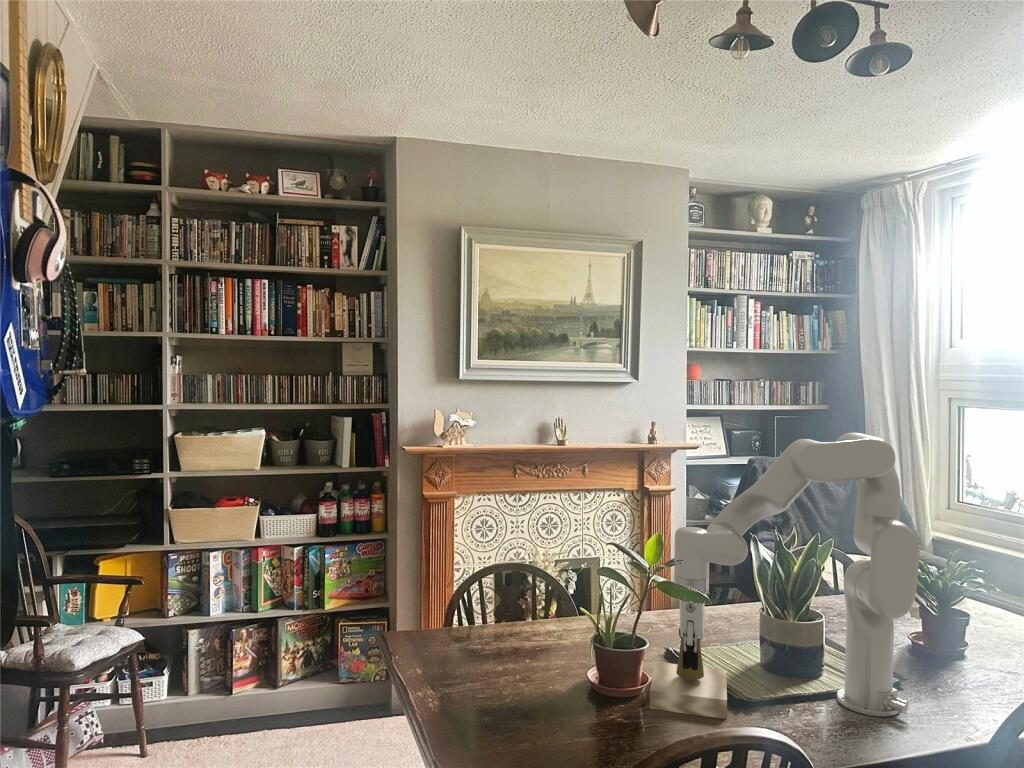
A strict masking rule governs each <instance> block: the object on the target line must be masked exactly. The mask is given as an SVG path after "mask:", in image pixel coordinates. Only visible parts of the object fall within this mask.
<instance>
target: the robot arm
mask: <svg viewBox="0 0 1024 768" xmlns="http://www.w3.org/2000/svg"><path fill="white" fill-rule="evenodd" d="M895 463H896V453H895V450H894V447H892V445H891V444H890V443H889V442H888V441H886V440H885V439H883V438H881V437H878V436H873V435H868V434H866V433H860V432H847V433H845V434H843V435H841V436H839V437H838V438H837V440H836V441H817V440H813V439H809V438H799V439H797V440H794V441H793V442H792V443H790V444H789V445H788V446H787V447H786V448H785V449H784V450H783V451H782V452H781V454H779V456H778V457H777V459H775V461H773V463H772V464H771V465H769V467H768V468H767V469H766V470H765V472H764V473H763V474H762V475H761V476H760V477H759V478H758V479H757V480H756V481H755V482H754V484H752V485H751V486H750V487H748V488H747V489H745V490H744V491H743V492H741V493H740V494H739V495H737V496H736V497H735V498H734V499H733V500H731V501H730V502H729V503H728V504H727V505H726V506H725V507H723V509H722V510H721V511H720V512H719V513H718V514H717V515H716V516H715V517H714V519H713V520H712V521H711V522H710V523H709V524H708V526H707V528H706V529H704V528H702V527H698V526H697V527H696V526H681V527H678V528H677V529H676V531H675V533H674V557H673V558H674V559H673V561H674V562H676V561H677V560H683V561H684V563H683V561H679V563H680V562H682V564H679V563H675V564H678V565H673V566H674V568H673V569H674V571H673V572H674V574H673V575H674V577H673V579H674V580H673V583H677V584H681V585H684V586H687V587H690V588H687V589H688V590H691V591H694V592H697V591H699V592H701V593H703V594H704V595H706V594H709V592H710V591H709V589H710V586H709V585H710V564H711V563H712V564H718V565H723V566H737V565H740V564H741V563H742V562H744V561H745V560H746V558H747V556H748V553H749V547H748V544H747V541H746V540H745V538H744V537H743V536H744V535H745V533H747V531H748V530H749V529H751V528H752V527H753V526H754V525H755V524H756V523H758V522H760V521H761V520H763V519H766V518H768V517H771V516H776V515H778V514H781V513H783V512H784V511H786V510H787V509H788V508H789V507H790V506H791V505H792V504H793V503H794V501H796V499H797V498H798V497H799V496H800V495H801V494H802V493H803V491H804V490H805V489H806V488H807V487H808V486H809V485H810V484H811V483H812V482H813V483H821V484H822V483H823V484H824V483H839V482H841V483H842V482H848V481H850V482H851V481H854V482H855V484H856V491H857V492H856V507H855V518H854V526H853V541H854V544H855V545H856V547H857V548H858V549H859V550H860V551H862V552H863V553H865V554H866V555H867V556H869V557H870V559H859V560H856V561H854V562H852V563H851V564H849V566H848V567H847V568H846V570H845V573H844V576H843V581H842V582H843V593H844V594H843V595H844V602H845V615H846V616H845V628H846V629H845V659H844V664H845V665H844V687H842V688H840V689H838V690H837V692H836V699H837V701H838V702H839V704H840V705H842V706H844V707H845V708H846V709H849V710H851V711H853V712H856V713H857V714H858V713H859V714H863V715H866V716H872V717H882V718H883V717H893V716H895V715H897V714H899V713H900V714H902V715H906V714H907V712H908V708H909V701H907V700H904V698H903V699H902V698H899V696H898V689H896V688H895V687H894V650H895V649H894V646H895V645H894V644H895V643H894V639H895V621H894V620H898V619H901V618H902V617H905V616H906V615H907V614H908V613H909V612H910V611H911V609H912V607H913V606H914V603H915V598H916V594H917V585H918V576H919V575H918V574H919V567H920V566H919V564H920V552H921V550H920V544H919V539H918V537H917V535H916V534H915V532H914V531H913V529H911V527H909V526H908V525H907V524H905V523H904V522H902V521H900V513H901V511H900V510H901V485H900V479H899V476H898V474H897V472H896V469H895V468H894V466H895ZM685 588H686V587H685ZM691 588H693V589H695V590H697V591H695V590H692V589H691ZM684 600H685V599H684ZM690 602H691V603H690ZM687 623H688V624H687ZM693 624H694V628H693ZM679 628H680V631H681V637H682V638H684V650H683V668H684V669H688V668H690V667H691V668H692V670H697V669H698V651H697V639H700V641H702V640H704V636H705V602H704V603H703V604H701V603H699V604H698V603H693V601H689V602H685V601H682V600H680V599H679ZM686 634H687V637H686ZM693 635H695V638H694V637H693ZM686 640H687V642H686ZM693 641H694V643H693Z"/></svg>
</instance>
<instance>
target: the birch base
mask: <svg viewBox="0 0 1024 768" xmlns="http://www.w3.org/2000/svg"><path fill="white" fill-rule="evenodd" d="M677 665H678V663H672V662H671V663H669V662H660V661H655V664H654V668H653V669H654V670H653V674H652V679H651V683H650V689H649V709H651V710H657V711H658V710H659V711H664V712H673V713H678V714H679V713H680V714H687V715H694V716H702V717H709V718H717V719H723V720H727V717H728V693H727V692H728V691H727V685H728V684H727V669H720V668H712V667H705V666H703V670H704V677H703V678H701V679H697V680H690V679H685V678H682V677H680V676H678V675H677V673H676V672H677Z"/></svg>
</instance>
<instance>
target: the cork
mask: <svg viewBox="0 0 1024 768" xmlns="http://www.w3.org/2000/svg"><path fill="white" fill-rule="evenodd" d="M687 624H688V623H687ZM693 628H694V624H693ZM678 635H679V638H680V644H679V654H678V660H677V664H678V665H677V672H676V673H677V675H678V676H680V677H682V678H685V679H690V680H697V679H701V678H703V677H704V670H703V667H704V664H703V663H704V662H703V656H702V655H703V654H702V646H701V640H700V639H697V651H698V669H697V670H692V668H691V667H690V668H688V669H684V668H683V650H684V638H682V637H681V631H680V627H679V628H678ZM686 637H687V634H686ZM693 637H694V638H695V635H693ZM686 642H687V640H686ZM693 643H694V641H693Z"/></svg>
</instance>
